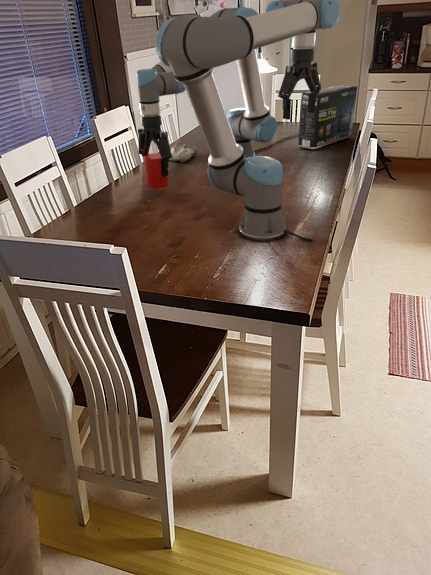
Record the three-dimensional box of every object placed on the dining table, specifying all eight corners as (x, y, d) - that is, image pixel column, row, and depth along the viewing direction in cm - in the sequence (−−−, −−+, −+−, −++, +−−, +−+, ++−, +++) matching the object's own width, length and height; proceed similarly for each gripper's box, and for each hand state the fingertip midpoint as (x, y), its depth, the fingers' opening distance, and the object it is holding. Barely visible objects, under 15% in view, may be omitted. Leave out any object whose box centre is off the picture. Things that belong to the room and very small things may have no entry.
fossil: (184, 156, 217) (163, 136, 220) (174, 174, 223) (154, 154, 227) (205, 153, 231) (186, 134, 234) (195, 171, 237) (176, 152, 240)
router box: (314, 151, 231) (318, 94, 217) (296, 148, 237) (299, 92, 224) (352, 138, 251) (358, 85, 238) (335, 135, 258) (340, 83, 245)
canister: (161, 180, 191) (159, 151, 185) (172, 185, 185) (169, 156, 178) (143, 184, 187) (140, 155, 180) (153, 190, 181) (150, 160, 174)
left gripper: (123, 114, 175) (131, 172, 187) (164, 119, 163) (170, 181, 175) (138, 110, 180) (144, 167, 192) (178, 115, 168) (183, 175, 180)
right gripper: (316, 45, 160) (312, 109, 171) (268, 50, 146) (267, 120, 157) (335, 45, 155) (329, 111, 166) (286, 51, 141) (283, 123, 152)
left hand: (156, 174), depth 183 cm, fingers closed on canister, 8 cm apart
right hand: (299, 115), depth 161 cm, fingers open, 13 cm apart
